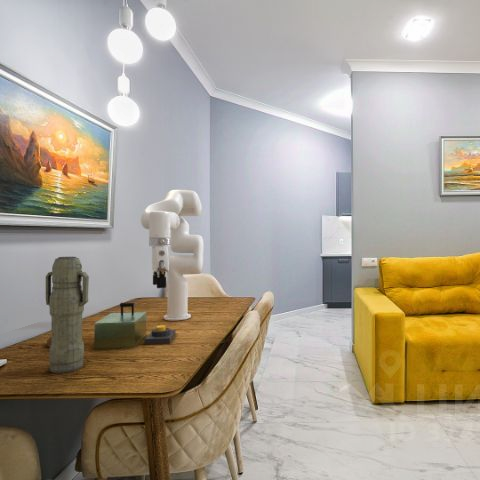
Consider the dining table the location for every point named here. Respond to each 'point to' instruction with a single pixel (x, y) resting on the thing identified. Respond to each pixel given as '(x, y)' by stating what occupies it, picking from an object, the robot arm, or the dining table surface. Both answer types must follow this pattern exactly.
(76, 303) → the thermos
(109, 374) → the dining table surface
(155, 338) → the control box
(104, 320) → the lid
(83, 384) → the dining table surface
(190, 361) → the dining table surface
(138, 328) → the green box
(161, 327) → the button
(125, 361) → the dining table surface
